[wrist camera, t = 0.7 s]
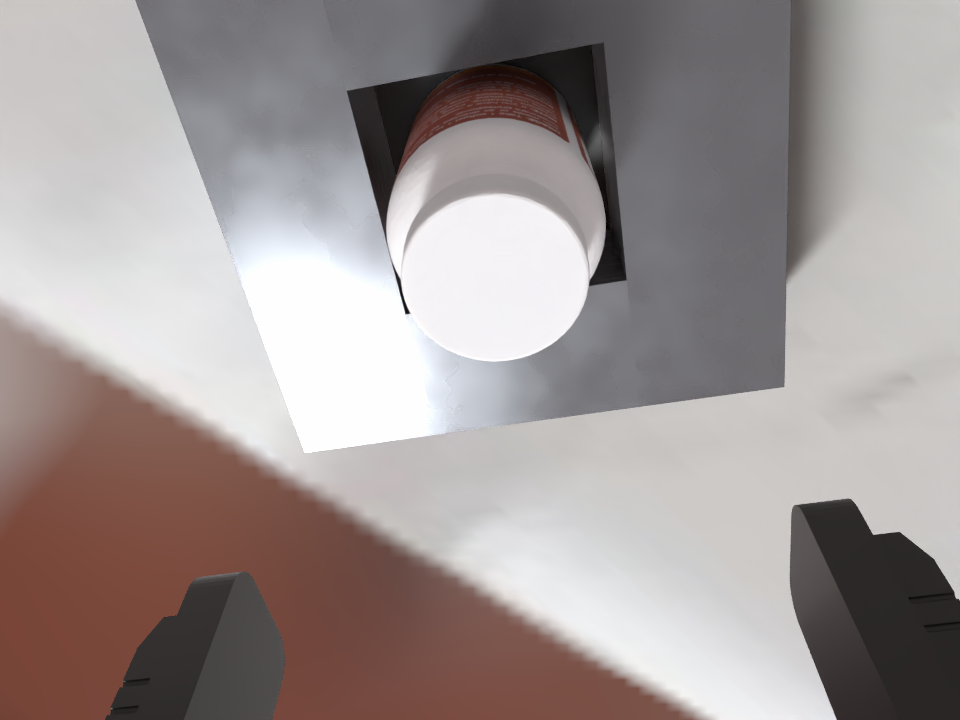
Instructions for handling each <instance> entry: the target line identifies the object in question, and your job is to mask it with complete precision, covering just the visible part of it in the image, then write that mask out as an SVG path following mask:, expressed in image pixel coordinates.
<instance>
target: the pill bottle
mask: <svg viewBox="0 0 960 720" xmlns="http://www.w3.org/2000/svg"><path fill="white" fill-rule="evenodd" d="M386 233H387V243H388V248H389V252H390V256H391V259H392V262H393V265H394V267H395V270H396V272H397V273H398V276H399V277H400V279H401V285H402V292H403V296H404V299H405V302H406V305H407V307H408V309H409V311H410V313H411V315H412V317H413V319H414V320H415V322H416V323H417V325H418V326H419V327H420V328H421V329H422V330H423V332H424V333H425V334H426V335H427V336H428V337H430V338H431V339H432V340H433V341H435V342H436V343H437V344H439V345H440V346H442V347H444V348H445V349H447V350H449V351H451V352H453V353H456V354H458V355H461V356H464V357H467V358H471V359H476V360H482V361H492V362H494V361H496V362H497V361H508V360H514V359H519V358H523V357H526V356H530V355H532V354H534V353H537V352H539V351H541V350H543V349H544V348H546V347H548V346H550V345H551V344H553V343H554V342H555V341H557V340H558V339H559V338H560V337H561V336H563V335H564V334H565V333H566V331H567V330H568V329H569V328H570V327H571V326H572V325H573V323H574V322H575V320H576V319H577V317H578V316H579V314H580V312H581V310H582V308H583V306H584V303H585V300H586V297H587V294H588V288H589V281H590V279H591V278H592V276H593V274H594V272H595V270H596V268H597V266H598V263H599V260H600V258H601V255H602V251H603V247H604V241H605V234H606V217H605V211H604V204H603V200H602V195H601V192H600V188H599V185H598V182H597V180H596V177H595V174H594V171H593V168H592V164H591V162H590V158H589V155H588V153H587V149H586V146H585V143H584V141H583V138H582V134H581V132H580V129H579V127H578V124H577V121H576V119H575V116H574V114H573V112H572V110H571V109H570V107H569V105H568V103H567V102H566V101H565V99H564V98H563V97H562V95H561V94H560V93H559V92H558V91H557V90H556V89H555V88H554V87H553V86H552V85H551V84H550V83H548V82H547V81H546V80H544V79H543V78H541V77H540V76H538V75H536V74H534V73H532V72H530V71H527V70H525V69H522V68H518V67H515V66H510V65H504V64H486V65H481V66H475V67H470V68H467V69H464V70H462V71H459V72H457V73H455V74H453V75H452V76H450V77H448V78H447V79H445V80H444V81H443V82H441V83H440V84H439V85H438V86H437V87H436V88H435V89H434V90H433V91H432V92H431V93H430V94H429V95H428V97H427V98H426V99H425V101H424V102H423V104H422V105H421V107H420V109H419V110H418V112H417V114H416V117H415V119H414V121H413V124H412V127H411V130H410V134H409V137H408V140H407V144H406V147H405V150H404V154H403V157H402V160H401V163H400V166H399V169H398V173H397V176H396V179H395V182H394V186H393V189H392V193H391V197H390V201H389V206H388V212H387V221H386Z"/></svg>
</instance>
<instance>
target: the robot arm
mask: <svg viewBox="0 0 960 720" xmlns="http://www.w3.org/2000/svg"><path fill="white" fill-rule="evenodd" d="M790 588H791V595H792V600H793V605H794V609H795V613H796V616H797V619H798V622H799V625H800V628H801V630H802V633H803V635H804V638H805V640H806V643H807V645H808V648H809V650H810V653H811V656H812V658H813V661H814V663H815V666H816V668H817V671H818V673H819V676H820V678H821V681H822V683H823V686H824V688H825V691H826V693H827V696H828V698H829V701H830V704H831V706H832V709H833V711H834V714H835V716H836V719H837V720H960V600H959V599H956V598H955V594H954V591H953V589H952V588H951V586H950V584H949V583H948V581H947V580H946V578H945V576H944V575H943V573H942V572H941V570H940V568H939V567H938V565H937V564H936V562H935V560H934V559H933V558H932V557H931V556H929V555H928V554H927V553H926V552H924V551H923V550H922V549H920V548H919V547H918V546H917V545H915V544H914V543H913V542H912V541H910V540H909V539H908V538H907V537H905V536H904V535H903V534H901V533H900V532H895V533H886V534H878V535H873V534H872V532H871V530H870V529H869V527H868V525H867V523H866V521H865V520H864V518H863V516H862V514H861V512H860V511H859V509H858V507H857V506H856V504H855V503H854V502H853V501H852V500H851V499H841V500H833V501H825V502H817V503H809V504H801V505H794V506H793V509H792V516H791V552H790ZM284 666H285V654H284V645H283V641H282V637H281V635H280V632H279V630H278V628H277V626H276V624H275V622H274V620H273V618H272V616H271V614H270V612H269V610H268V608H267V606H266V604H265V602H264V600H263V597H262V595H261V593H260V591H259V589H258V587H257V585H256V583H255V581H254V579H253V578H252V576H251V575H250V574H249V573H247V572H237V573H230V574H221V575H213V576H205V577H198V578H196V579H195V580H194V581H193V582H192V583H191V584H190V586H189V588H188V591H187V593H186V595H185V598H184V600H183V602H182V605H181V607H180V610H179V612H178V614H177V616H169V617H164V618H163V619H162V620H161V621H160V622H159V624H158V625H157V626H156V627H155V628H154V629H153V630H152V632H151V633H150V634H149V635H148V636H147V638H146V639H145V640H144V641H143V642H142V643H141V644H140V646H139V647H138V648H137V651H136V653H135V655H134V657H133V659H132V662H131V664H130V666H129V668H128V670H127V673H126V675H125V677H124V679H123V687H121V688H119V690H118V692H117V695H116V697H115V699H114V701H113V703H112V706H111V708H110V709H111V714H110V715H107V717H106V719H105V720H272V718H273V714H274V710H275V707H276V702H277V699H278V695H279V691H280V687H281V683H282V680H283V675H284Z"/></svg>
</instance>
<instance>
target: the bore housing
mask: <svg viewBox="0 0 960 720" xmlns="http://www.w3.org/2000/svg"><path fill="white" fill-rule="evenodd" d="M136 3H137V6H138V8H139V11H140V14H141V16H142V19H143V22H144V24H145V27H146V30H147V32H148V35H149V38H150V40H151V43H152V46H153V48H154V51H155V54H156V56H157V59H158V62H159V65H160V67H161V70H162V73H163V75H164V78H165V81H166V83H167V86H168V89H169V91H170V94H171V97H172V99H173V102H174V105H175V107H176V110H177V113H178V115H179V118H180V121H181V123H182V126H183V129H184V131H185V134H186V137H187V139H188V142H189V145H190V147H191V150H192V153H193V155H194V158H195V161H196V163H197V166H198V169H199V171H200V174H201V177H202V179H203V182H204V185H205V187H206V190H207V193H208V195H209V198H210V201H211V203H212V206H213V209H214V211H215V214H216V217H217V219H218V222H219V225H220V227H221V230H222V233H223V235H224V238H225V241H226V243H227V246H228V249H229V251H230V254H231V257H232V259H233V262H234V265H235V267H236V270H237V273H238V275H239V278H240V281H241V283H242V286H243V289H244V291H245V294H246V297H247V299H248V302H249V305H250V307H251V310H252V313H253V315H254V318H255V321H256V323H257V326H258V329H259V331H260V334H261V337H262V339H263V342H264V345H265V347H266V350H267V353H268V355H269V358H270V361H271V363H272V366H273V369H274V371H275V374H276V377H277V379H278V382H279V385H280V387H281V390H282V393H283V395H284V398H285V401H286V403H287V406H288V409H289V411H290V414H291V417H292V419H293V422H294V425H295V427H296V430H297V433H298V435H299V438H300V441H301V443H302V446H303V449H304V451H305V452H313V451H320V450H327V449H335V448H342V447H349V446H357V445H364V444H371V443H378V442H386V441H393V440H400V439H408V438H415V437H422V436H430V435H437V434H444V433H451V432H459V431H466V430H473V429H481V428H488V427H495V426H502V425H510V424H517V423H524V422H532V421H539V420H546V419H554V418H561V417H568V416H575V415H583V414H590V413H597V412H605V411H612V410H619V409H626V408H634V407H641V406H648V405H656V404H663V403H670V402H678V401H685V400H692V399H699V398H707V397H714V396H721V395H729V394H736V393H743V392H751V391H758V390H765V389H772V388H780V387H784V378H785V321H786V264H787V206H788V149H789V92H790V35H791V0H136ZM587 45H591V48H592V57H593V67H594V76H595V86H596V95H597V105H598V114H599V124H600V134H601V143H602V153H603V162H604V172H605V181H606V191H607V200H608V210H609V219H610V229H609V230H606V234H605V241H604V247H603V251H602V255H601V258H600V260H599V263H598V266H597V268H596V270H595V272H594V274H593V276H592V278H591V279H590V281H589V288H588V294H587V297H586V300H585V303H584V306H583V308H582V310H581V312H580V314H579V316H578V317H577V319H576V320H575V322H574V323H573V325H572V326H571V327H570V328H569V329H568V330H567V331H566V333H565V334H564V335H563V336H561V337H560V338H559V339H558V340H557V341H555V342H554V343H553V344H551V345H550V346H548V347H546V348H544V349H543V350H541V351H539V352H537V353H534V354H532V355H530V356H526V357H523V358H519V359H514V360H508V361H497V362H496V361H494V362H492V361H482V360H476V359H471V358H467V357H464V356H461V355H458V354H456V353H453V352H451V351H449V350H447V349H445V348H444V347H442V346H440V345H439V344H437V343H436V342H435V341H433V340H432V339H431V338H430V337H428V336H427V335H426V334H425V333H424V332H423V330H422V329H421V328H420V327H419V326H418V325H417V323H416V322H415V320H414V319H413V317H412V315H411V313H410V311H409V309H408V307H407V305H406V302H405V299H404V296H403V292H402V285H401V279H400V277H399V276H398V273H397V272H396V270H395V267H394V265H393V262H392V259H391V256H390V252H389V248H388V243H387V233H386V221H387V212H388V206H389V201H390V197H391V193H392V189H393V186H394V182H395V179H396V173H395V169H394V165H393V161H392V157H391V153H390V149H389V145H388V141H387V136H386V132H385V128H384V124H383V120H382V116H381V112H380V108H379V104H378V100H377V96H376V91H375V87H374V86H375V85H380V84H385V83H391V82H396V81H401V80H407V79H412V78H417V77H422V76H428V75H433V74H438V73H444V72H449V71H454V70H460V69H465V68H470V67H475V66H481V65H486V64H491V63H497V62H502V61H507V60H513V59H518V58H523V57H528V56H534V55H539V54H544V53H550V52H555V51H560V50H566V49H571V48H576V47H581V46H587Z"/></svg>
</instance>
